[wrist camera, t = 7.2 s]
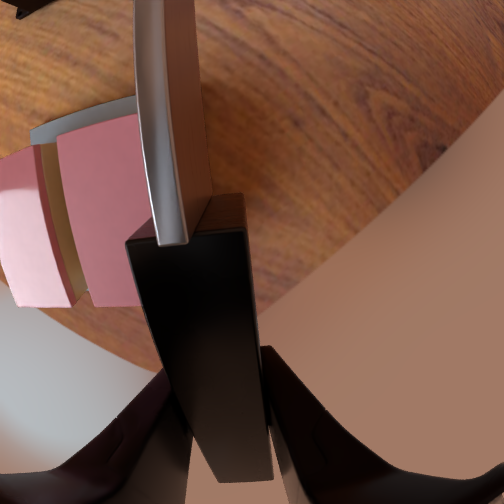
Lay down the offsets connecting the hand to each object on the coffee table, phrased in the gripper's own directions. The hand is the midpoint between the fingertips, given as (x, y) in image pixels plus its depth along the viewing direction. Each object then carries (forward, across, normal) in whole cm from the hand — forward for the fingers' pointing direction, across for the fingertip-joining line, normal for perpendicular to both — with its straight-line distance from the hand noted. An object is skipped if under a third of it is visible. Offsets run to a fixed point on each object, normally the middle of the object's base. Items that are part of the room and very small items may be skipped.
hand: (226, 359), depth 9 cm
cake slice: (+9, +4, -4) cm, 11 cm away
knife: (+1, 0, -6) cm, 6 cm away
